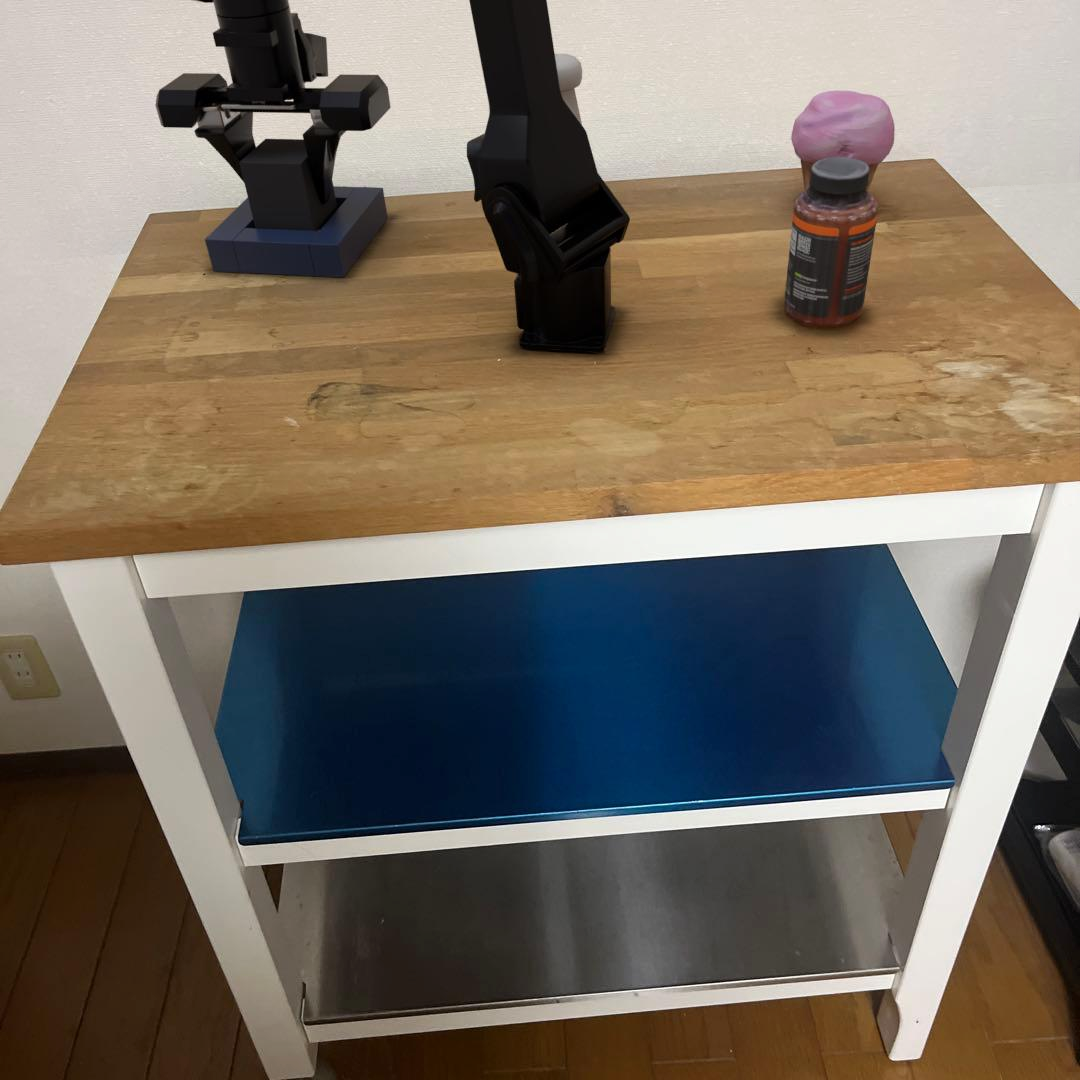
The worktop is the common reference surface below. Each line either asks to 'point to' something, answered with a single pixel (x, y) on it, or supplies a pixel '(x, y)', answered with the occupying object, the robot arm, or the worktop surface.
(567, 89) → the salt shaker
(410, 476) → the worktop surface
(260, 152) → the black cube
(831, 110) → the cupcake
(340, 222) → the base
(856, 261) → the supplement bottle
